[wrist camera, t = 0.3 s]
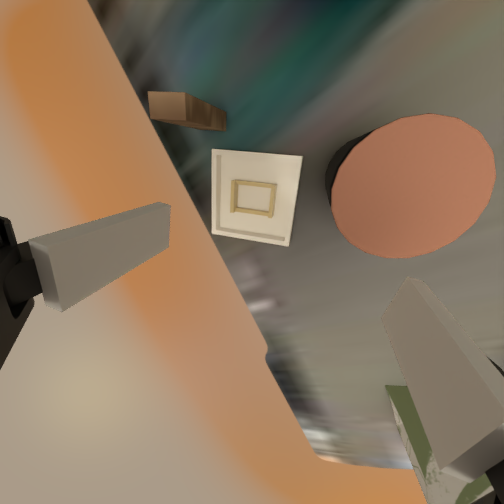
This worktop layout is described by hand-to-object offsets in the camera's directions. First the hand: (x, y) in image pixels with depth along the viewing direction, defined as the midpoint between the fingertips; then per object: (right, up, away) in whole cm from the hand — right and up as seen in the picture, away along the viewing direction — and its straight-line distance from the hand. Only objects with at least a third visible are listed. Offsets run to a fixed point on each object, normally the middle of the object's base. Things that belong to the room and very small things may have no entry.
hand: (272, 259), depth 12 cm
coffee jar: (+15, +12, +20) cm, 28 cm away
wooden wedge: (-7, +21, +23) cm, 32 cm away
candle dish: (-1, +10, +26) cm, 28 cm away
